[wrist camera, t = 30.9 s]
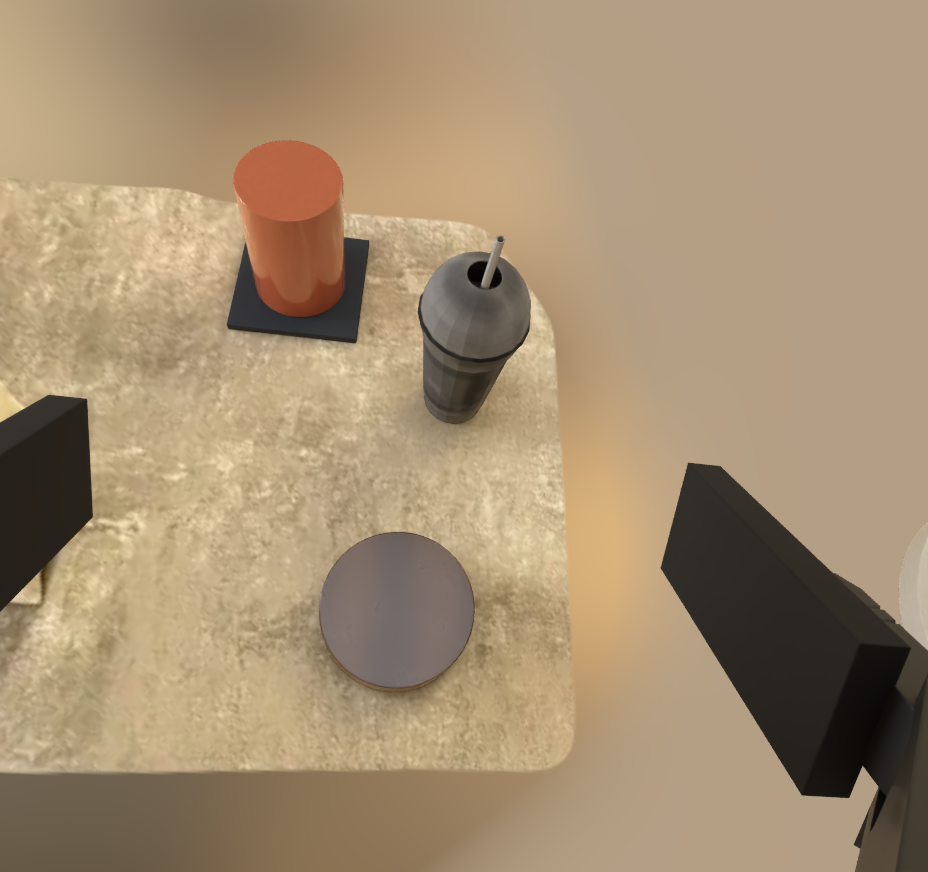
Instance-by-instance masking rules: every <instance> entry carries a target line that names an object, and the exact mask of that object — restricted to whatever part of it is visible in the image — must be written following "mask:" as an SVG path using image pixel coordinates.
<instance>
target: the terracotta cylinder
mask: <svg viewBox="0 0 928 872" xmlns="http://www.w3.org/2000/svg"><path fill="white" fill-rule="evenodd" d="M233 184H234V189H235V193H236V198H237V203H238V207H239V212H240V217H241V221H242V226H243V231H244V235H245V240H246V245H247V249H248V254H249V258H250V263H251V268H252V272H253V277H254V282H255V286H256V290H257V293H258V295H259V296H260V298H261V299H262V301H263V302H264V303H265V304H266V305H267V306H269V307H270V308H271V309H273V310H275V311H276V312H278V313H281V314H284V315H287V316H292V317H309V316H314V315H318V314H320V313H323V312H325V311H327V310H329V309H330V308H331V307H333V306H334V305H335V304H336V303H337V302H338V301H339V299H340V298H341V296H342V294H343V292H344V289H345V283H346V274H345V235H344V197H343V177H342V173H341V171H340V169H339V167H338V165H337V163H336V162H335V161H334V160H333V159H332V157H330V156H329V155H328V154H327V153H326V152H324V151H323V150H321V149H319V148H317V147H315V146H313V145H310V144H307V143H303V142H298V141H275V142H270V143H266V144H263V145H261V146H258V147H256V148H254V149H252V150H251V151H250V152H248V153H247V154H246V155H245V156H244V157H243V158H242V159H241V160H240V161H239V163H238V165H237V166H236V169H235V172H234V177H233Z"/></svg>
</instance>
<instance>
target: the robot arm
mask: <svg viewBox="0 0 928 872" xmlns="http://www.w3.org/2000/svg"><path fill="white" fill-rule="evenodd" d="M92 517H93V511H92V490H91V470H90V449H89V429H88V408H87V399H83V398H74V397H64V396H55V395H47V396H46V397H44V398H42V399H41V400H39V401H37V402H35V403H34V404H32V405H30V406H28V407H27V408H25V409H23V410H21V411H20V412H18V413H16V414H14V415H13V416H11V417H9V418H7V419H6V420H4V421H2V422H0V611H1V610H2V609H3V608H4V607H5V606H6V605H7V604H8V603H9V602H10V601H11V600H12V599H13V598H14V597H15V596H16V595H17V594H18V593H19V592H20V591H21V590H22V589H23V588H24V587H25V586H26V585H27V584H28V583H29V582H30V581H31V580H32V579H33V578H34V577H35V576H36V575H37V574H38V573H39V572H40V571H41V569H42V568H43V567H44V566H45V565H46V564H47V563H48V562H49V561H50V560H51V559H52V558H53V557H54V556H55V555H56V554H57V553H58V552H59V551H60V550H61V549H62V548H63V547H64V546H65V545H66V544H67V543H68V542H69V541H70V540H71V539H72V538H73V537H74V536H75V535H76V534H77V533H78V532H79V531H80V530H81V529H82V528H83V527H84V526H85V524H86V523H87V522H88V521H89V520H90V519H91V518H92ZM661 569H662V571H663V573H664V574H665V576H666V577H667V579H668V581H669V582H670V584H671V585H672V587H673V589H674V590H675V592H676V594H677V595H678V597H679V598H680V600H681V602H682V603H683V605H684V606H685V608H686V610H687V611H688V613H689V614H690V616H691V618H692V619H693V621H694V623H695V624H696V626H697V627H698V629H699V630H700V632H701V634H702V635H703V637H704V638H705V640H706V642H707V643H708V645H709V647H710V648H711V650H712V652H713V653H714V655H715V656H716V658H717V659H718V661H719V663H720V664H721V666H722V668H723V669H724V671H725V672H726V674H727V675H728V677H729V679H730V680H731V682H732V684H733V685H734V687H735V688H736V690H737V691H738V693H739V695H740V697H741V698H742V700H743V701H744V703H745V705H746V706H747V708H748V709H749V711H750V713H751V714H752V716H753V717H754V719H755V721H756V722H757V724H758V725H759V727H760V729H761V730H762V732H763V733H764V735H765V737H766V738H767V740H768V742H769V743H770V745H771V746H772V748H773V750H774V751H775V753H776V754H777V756H778V758H779V759H780V761H781V763H782V764H783V766H784V767H785V769H786V771H787V772H788V774H789V775H790V777H791V779H792V780H793V782H794V783H795V785H796V787H797V788H798V790H799V791H800V793H801V795H806V796H823V797H840V798H849V797H850V795H851V792H852V790H853V787H854V785H855V782H856V780H857V778H858V775H859V773H860V770H861V768H862V766H863V767H864V768H865V769H866V771H867V772H868V773H869V775H870V776H871V777H872V779H873V780H874V781H875V782H876V784H877V785H878V786H879V787H878V790H877V792H876V794H875V797H874V799H873V801H872V803H871V806H870V808H869V810H868V813H867V815H866V818H865V820H864V822H863V824H862V827H861V829H860V832H859V834H858V836H857V838H856V841H855V843H854V845H855V846H857V847H858V848H860V853H859V857H858V861H857V866H856V870H855V872H928V650H927V649H926V648H925V647H924V646H922V645H921V644H920V643H919V642H918V641H917V640H916V639H915V638H914V637H913V636H912V635H911V634H909V633H908V632H907V631H906V630H905V629H904V628H903V627H902V626H901V625H900V624H896V623H895V620H894V619H893V618H892V617H891V616H890V615H889V614H888V613H886V611H885V610H880V606H879V605H878V604H877V603H876V602H875V601H873V599H871V597H869V596H868V595H867V594H866V593H865V592H864V591H863V590H862V589H860V588H859V587H857V586H855V585H854V584H852V583H850V582H848V581H847V580H845V579H844V578H842V577H840V576H839V575H837V574H835V573H832V572H831V571H830V570H829V569H828V568H827V567H826V566H825V565H824V564H823V563H822V562H821V561H820V560H818V559H817V558H816V557H815V556H814V555H813V554H812V553H811V552H810V551H809V550H808V549H807V548H806V547H805V546H804V545H803V544H802V543H801V542H799V541H798V540H797V539H796V538H795V537H794V536H793V535H792V534H791V533H790V532H789V531H788V530H787V529H786V528H785V527H784V526H783V525H781V523H780V522H778V521H777V520H776V519H775V518H774V517H773V516H772V515H771V514H770V513H769V512H768V511H767V510H766V509H765V508H764V507H763V506H762V505H761V504H759V503H758V502H757V501H756V500H755V499H754V498H753V497H752V496H751V495H750V494H749V493H748V492H747V491H746V490H745V489H744V488H743V487H741V485H739V484H738V483H737V482H736V481H735V480H734V479H733V478H732V477H731V476H730V475H729V474H728V473H727V472H726V471H725V470H723V468H722V467H721V466H714V465H704V464H694V463H688V466H687V469H686V473H685V477H684V481H683V485H682V488H681V492H680V496H679V500H678V504H677V507H676V511H675V515H674V519H673V523H672V527H671V531H670V535H669V538H668V542H667V546H666V550H665V554H664V557H663V561H662V566H661Z"/></svg>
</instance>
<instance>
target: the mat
mask: <svg viewBox="0 0 928 872" xmlns="http://www.w3.org/2000/svg"><path fill="white" fill-rule="evenodd" d="M368 249H369V241H368V240H361V239H353V238H345V274H346V283H345V289H344V292H343V294H342V296H341V298H340V299H339V301H338V302H337V303H336V304H335V305H334V306H333V307H331V308H330V309H329V310H327V311H325V312H323V313H320V314H318V315H314V316H309V317H292V316H287V315H284V314H281V313H278V312H276V311H275V310H273V309H271V308H270V307H269V306H267V305H266V304H265V303H264V302H263V301H262V299H261V298H260V296H259V295H258V293H257V290H256V286H255V282H254V277H253V272H252V268H251V263H250V258H249V254H248V249H247V245H246V243H245V247H244V251H243V256H242V260H241V265H240V269H239V273H238V278H237V282H236V287H235V291H234V295H233V300H232V304H231V309H230V313H229V317H228V322H227V326H228V328H229V329H237V330H246V331H255V332H264V333H273V334H282V335H291V336H300V337H309V338H317V339H326V340H335V341H344V342H353V343H356V341H357V333H358V325H359V318H360V310H361V302H362V295H363V287H364V280H365V272H366V264H367V257H368Z"/></svg>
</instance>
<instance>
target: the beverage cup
mask: <svg viewBox="0 0 928 872" xmlns="http://www.w3.org/2000/svg"><path fill="white" fill-rule="evenodd" d="M504 241H505V238H504V236H502V235H499V236H497V237H496V240H495V243H494V246H493V249H492V252H491V253H485V252H468V253H463V254H460V255H458V256H455V257H452V258H451V259H449V260H448V261H446V262H445V263H444V264H443V265H441V266H440V267H439V268H438V269H437V270H436V271H435V272H434V273H433V275H432V277H431V278H430V280H429V282H428V283H427V285H426V287H425V289H424V292H423V293H422V295H421V297H420V301H419V307H418V315H419V320H420V324H421V328H422V333H423V388H424V393H425V395H424V398H425V403H426V406H427V408H428V409H429V411H430V413H432V414H433V415H434V416H435V417H436V418H438V419H440V420H442V421H444V422H448V423H462V422H465V421H467V420H469V419H471V418H472V417H473V416H474V415H475V414H476V413H477V412H478V410H479V408H480V407H481V406H482V405H483V403H484V401H485V399H486V397H487V396H488V394H489V392H490V390H491V388H492V386H493V385H494V383H495V381H496V379H497V377H498V376H499V374H500V372H501V370H502V368H503V367H504V365H505V363H506V361H507V360H508V359H509V358H510V357H511V356H512V355H513V354H514V352H515V351H516V350H517V349H518V348H519V347H520V346H521V345H522V344H523V342H524V340H525V338H526V336H527V334H528V332H529V328H530V310H531V300H530V296H529V293H528V289H527V286H526V283H525V281H524V280H523V278H522V277H521V275H520V274H519V272H518V271H517V269H516V268H515V267H513V266H512V265H511V264H510V263H508V262H507V261H506V260H505V259H503V258H501V257H499V256H500V253H501V250H502V248H503V245H504Z"/></svg>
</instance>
